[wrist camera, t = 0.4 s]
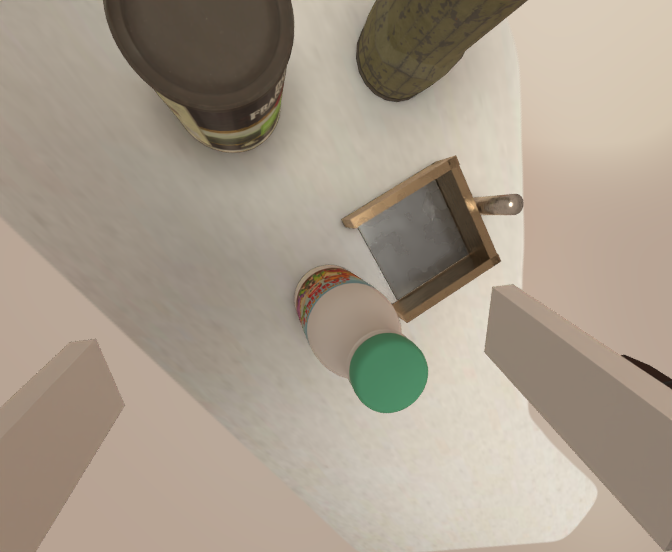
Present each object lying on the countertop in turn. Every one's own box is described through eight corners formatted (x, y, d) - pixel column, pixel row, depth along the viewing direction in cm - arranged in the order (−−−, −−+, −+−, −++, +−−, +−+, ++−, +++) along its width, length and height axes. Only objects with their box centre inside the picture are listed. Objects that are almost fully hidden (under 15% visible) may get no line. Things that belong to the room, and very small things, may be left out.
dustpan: (393, 312, 40) (424, 335, 33) (341, 219, 37) (362, 220, 29) (492, 248, 42) (544, 255, 34) (451, 152, 38) (498, 136, 31)
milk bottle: (371, 283, 39) (477, 348, 20) (338, 339, 39) (412, 457, 20) (314, 251, 37) (373, 290, 18) (281, 311, 37) (302, 412, 18)
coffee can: (296, 73, 33) (320, -25, 20) (259, 170, 34) (258, 140, 21) (192, 16, 31) (137, -143, 17) (155, 123, 31) (74, 53, 18)
